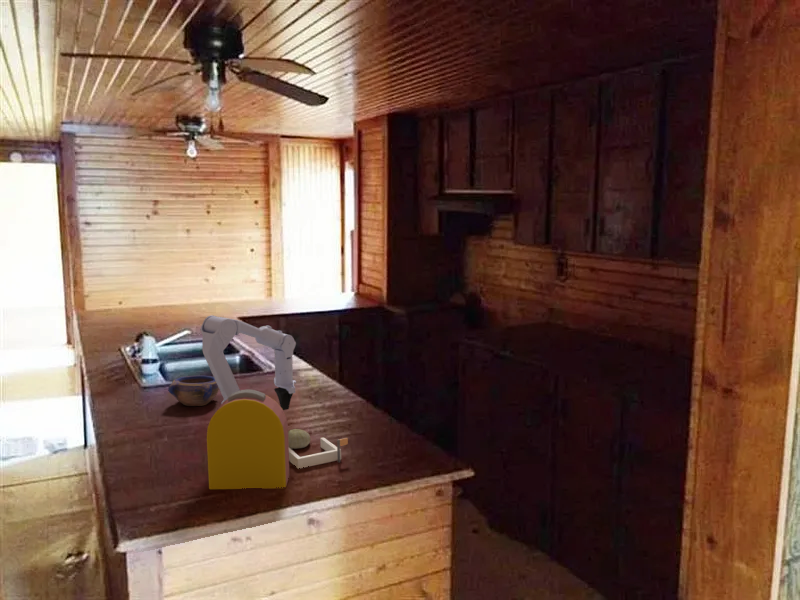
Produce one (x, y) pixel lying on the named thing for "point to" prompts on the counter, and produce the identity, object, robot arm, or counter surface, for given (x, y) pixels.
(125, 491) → the counter surface
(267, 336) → the robot arm
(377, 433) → the counter surface
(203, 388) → the bowl
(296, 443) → the sea urchin shell
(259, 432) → the yellow arched block
